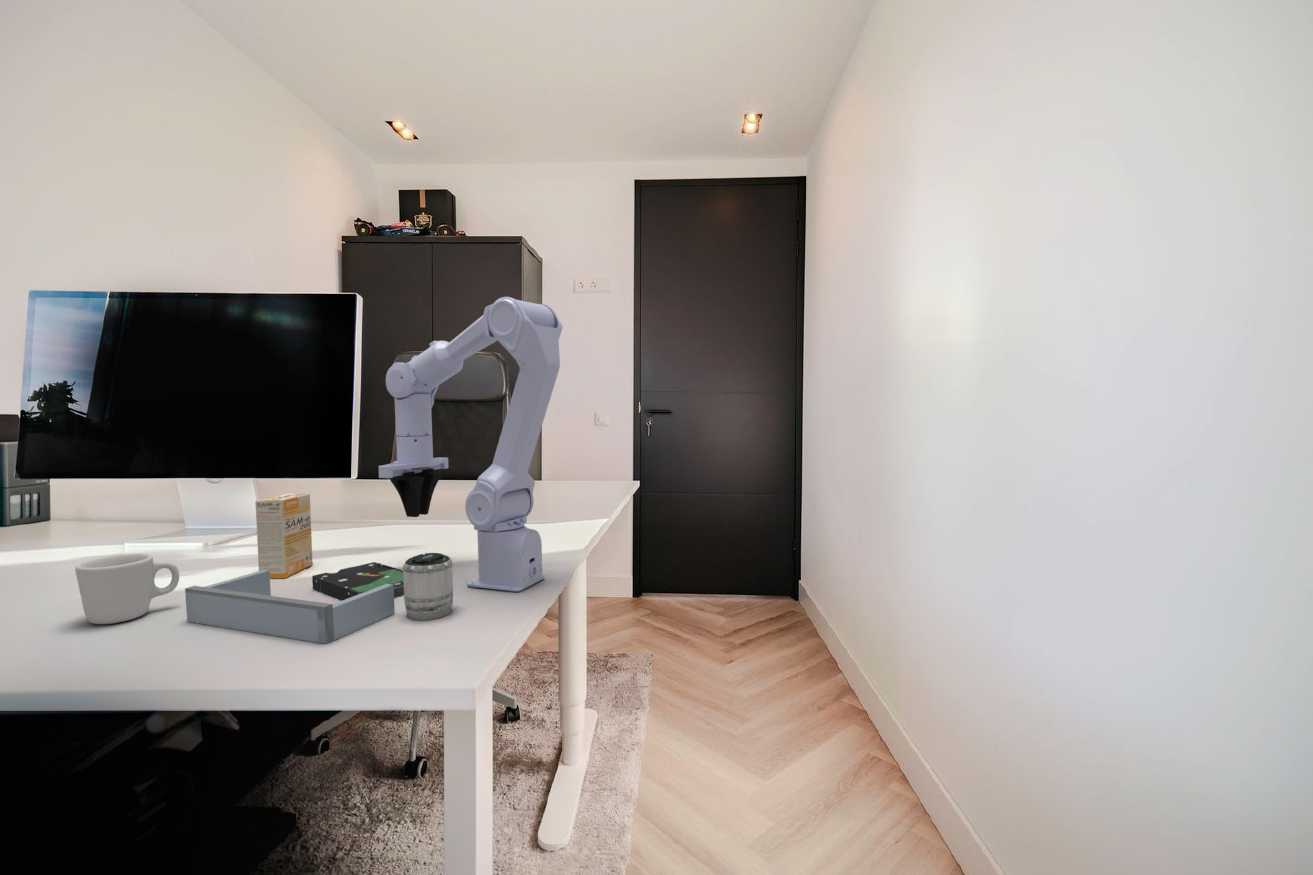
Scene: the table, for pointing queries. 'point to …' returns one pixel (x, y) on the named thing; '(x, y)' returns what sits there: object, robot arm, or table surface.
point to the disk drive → (358, 580)
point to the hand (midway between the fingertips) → (417, 515)
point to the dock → (284, 609)
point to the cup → (120, 586)
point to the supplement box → (284, 534)
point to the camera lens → (428, 586)
